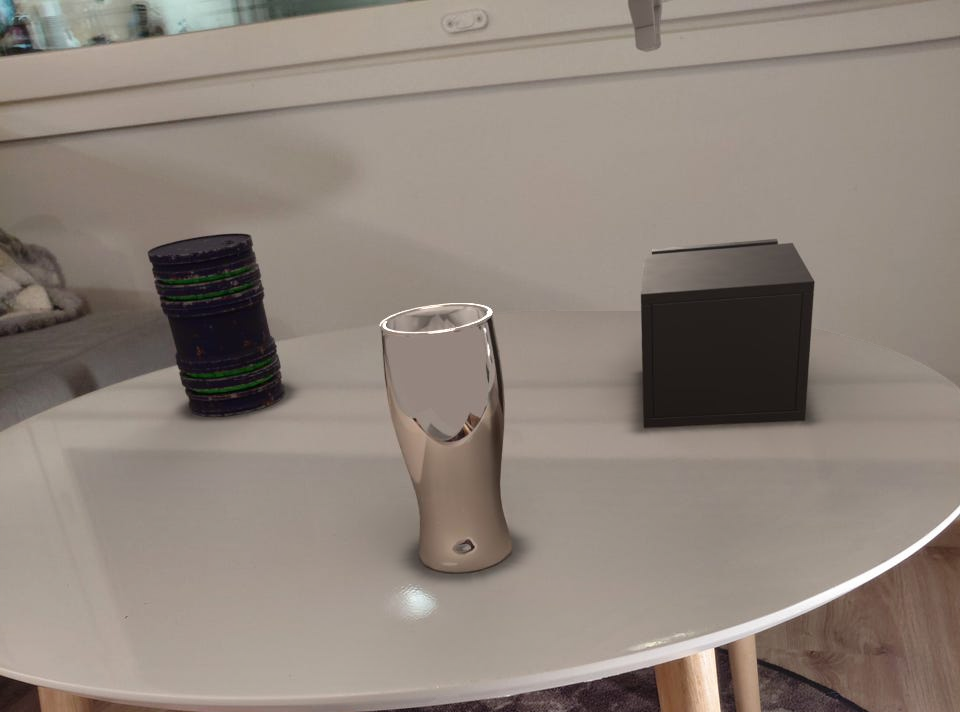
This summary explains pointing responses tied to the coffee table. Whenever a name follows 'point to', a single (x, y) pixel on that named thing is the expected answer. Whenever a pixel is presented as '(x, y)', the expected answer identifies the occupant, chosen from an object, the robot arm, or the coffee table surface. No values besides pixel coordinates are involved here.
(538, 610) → the coffee table surface
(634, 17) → the robot arm
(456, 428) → the beer glass
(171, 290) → the storage jar
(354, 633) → the coffee table surface
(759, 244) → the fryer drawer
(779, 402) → the cabinet
